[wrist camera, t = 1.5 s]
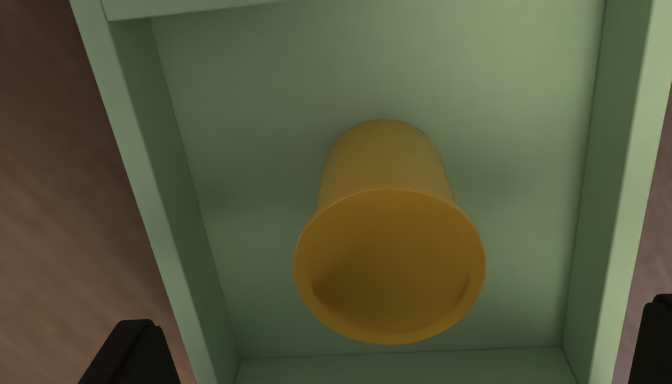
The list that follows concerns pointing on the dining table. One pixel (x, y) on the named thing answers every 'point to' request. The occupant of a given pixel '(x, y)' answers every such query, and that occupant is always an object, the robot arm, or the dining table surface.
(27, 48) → the dining table surface
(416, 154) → the cup
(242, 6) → the green tray box
